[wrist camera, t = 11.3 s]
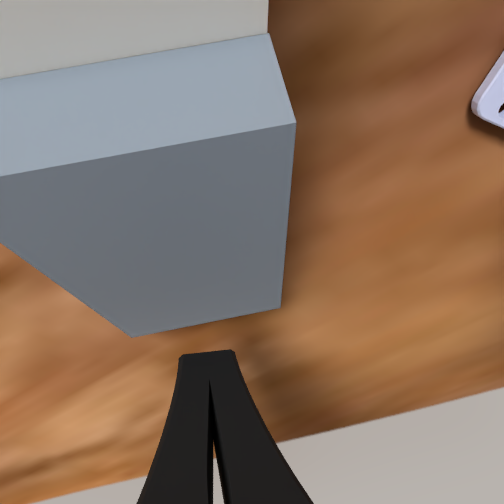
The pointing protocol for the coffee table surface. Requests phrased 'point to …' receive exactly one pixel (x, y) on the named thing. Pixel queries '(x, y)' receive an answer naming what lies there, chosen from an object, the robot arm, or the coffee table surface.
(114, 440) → the coffee table surface
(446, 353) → the coffee table surface
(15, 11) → the domino
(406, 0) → the coffee table surface
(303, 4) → the coffee table surface
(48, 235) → the domino
